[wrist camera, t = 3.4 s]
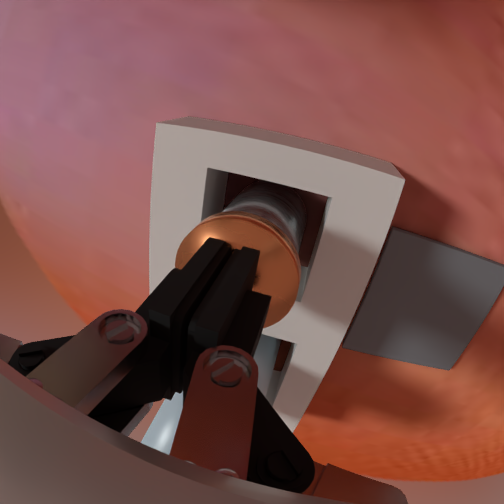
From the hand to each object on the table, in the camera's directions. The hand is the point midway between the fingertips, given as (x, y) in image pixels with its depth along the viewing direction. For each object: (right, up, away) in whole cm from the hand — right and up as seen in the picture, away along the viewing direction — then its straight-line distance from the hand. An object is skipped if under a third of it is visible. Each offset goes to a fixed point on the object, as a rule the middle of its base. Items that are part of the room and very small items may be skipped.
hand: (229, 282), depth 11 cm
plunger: (+2, +3, +5) cm, 6 cm away
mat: (+11, -2, +6) cm, 12 cm away
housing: (+1, -1, +8) cm, 8 cm away
